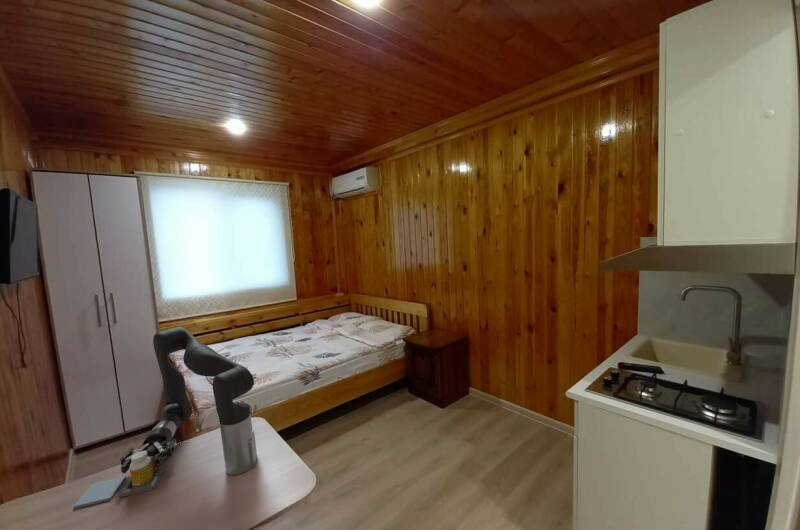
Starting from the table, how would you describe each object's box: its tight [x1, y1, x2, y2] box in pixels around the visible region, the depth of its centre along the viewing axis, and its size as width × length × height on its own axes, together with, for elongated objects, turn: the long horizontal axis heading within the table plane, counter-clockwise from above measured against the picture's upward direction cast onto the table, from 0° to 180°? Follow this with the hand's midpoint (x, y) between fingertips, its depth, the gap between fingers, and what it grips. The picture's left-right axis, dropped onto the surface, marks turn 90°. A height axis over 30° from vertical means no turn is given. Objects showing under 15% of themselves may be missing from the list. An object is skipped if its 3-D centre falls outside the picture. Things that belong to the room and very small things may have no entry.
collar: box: [118, 465, 166, 498], centre depth 103 cm, size 9×9×1 cm
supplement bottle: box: [129, 451, 155, 488], centre depth 103 cm, size 5×5×10 cm
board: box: [73, 475, 127, 510], centre depth 100 cm, size 9×9×1 cm
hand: (139, 467), depth 102 cm, fingers open, 8 cm apart
